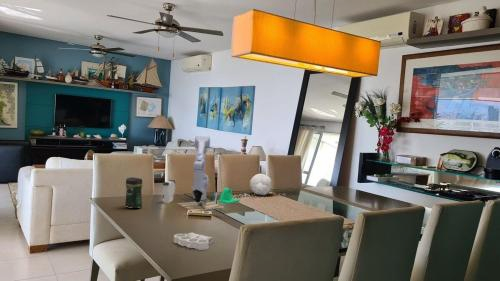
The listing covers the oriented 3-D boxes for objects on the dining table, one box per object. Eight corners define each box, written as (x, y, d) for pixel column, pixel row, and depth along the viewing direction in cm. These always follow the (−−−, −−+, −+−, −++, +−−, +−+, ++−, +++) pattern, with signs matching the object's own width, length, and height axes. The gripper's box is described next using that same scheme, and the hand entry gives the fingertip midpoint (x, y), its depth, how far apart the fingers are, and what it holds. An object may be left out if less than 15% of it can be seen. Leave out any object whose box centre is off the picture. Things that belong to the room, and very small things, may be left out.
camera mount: (227, 206, 250) (227, 190, 250) (218, 204, 255) (219, 188, 255) (239, 203, 259) (240, 188, 259) (231, 201, 264) (231, 186, 264)
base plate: (177, 205, 245) (177, 199, 245) (207, 202, 257) (207, 196, 257) (191, 213, 228) (192, 206, 227) (224, 209, 240) (224, 203, 240)
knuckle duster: (218, 244, 175) (198, 253, 163) (188, 236, 184) (166, 244, 172) (219, 237, 175) (198, 245, 162) (188, 229, 184) (166, 237, 172)
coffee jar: (144, 208, 235) (145, 177, 234) (134, 210, 229) (135, 179, 227) (132, 205, 240) (133, 176, 239) (122, 208, 233) (123, 177, 232)
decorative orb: (259, 191, 305) (260, 171, 304) (278, 194, 295) (279, 174, 294) (244, 194, 289) (244, 173, 288) (263, 198, 279) (264, 176, 278)
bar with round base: (200, 208, 233) (200, 204, 233) (197, 204, 245) (197, 200, 245) (208, 208, 234) (208, 204, 234) (205, 204, 246) (205, 200, 246)
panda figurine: (164, 201, 255) (164, 179, 255) (180, 203, 253) (181, 180, 252) (156, 205, 244) (156, 181, 243) (173, 207, 241) (173, 183, 240)
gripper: (187, 179, 242) (186, 200, 243) (198, 182, 230) (197, 205, 231) (197, 178, 246) (196, 199, 247) (208, 182, 234) (207, 204, 235)
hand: (197, 202), depth 239 cm, fingers closed
